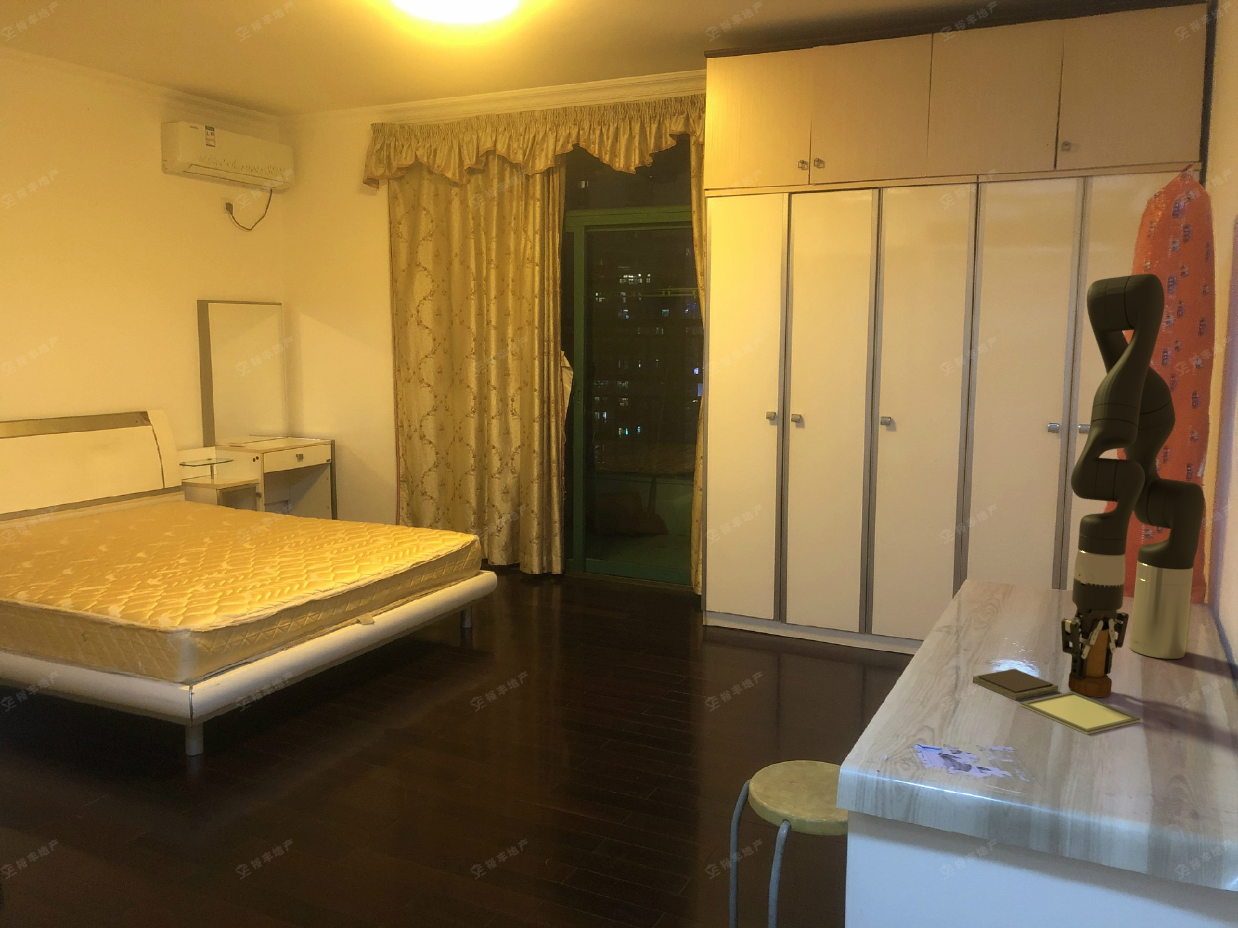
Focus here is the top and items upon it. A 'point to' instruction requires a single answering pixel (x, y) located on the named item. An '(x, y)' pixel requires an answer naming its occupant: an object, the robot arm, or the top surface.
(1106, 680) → the brown wooden stamp
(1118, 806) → the top surface
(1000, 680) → the ink pad
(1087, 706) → the print card
